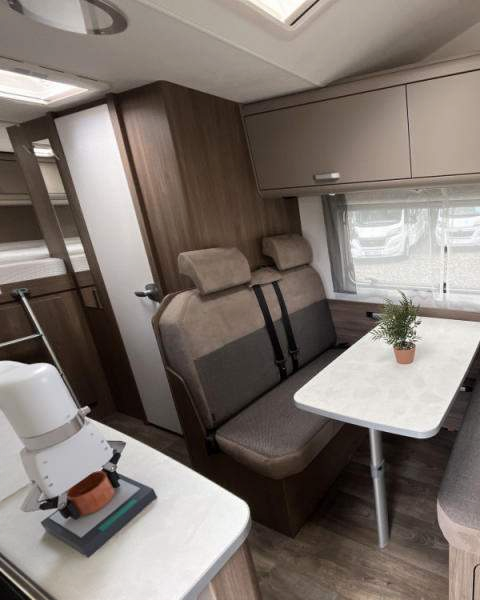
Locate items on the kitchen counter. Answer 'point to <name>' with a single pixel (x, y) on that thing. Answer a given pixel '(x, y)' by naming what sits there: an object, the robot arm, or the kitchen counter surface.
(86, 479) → the bowl
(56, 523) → the scale
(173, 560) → the kitchen counter surface
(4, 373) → the robot arm
